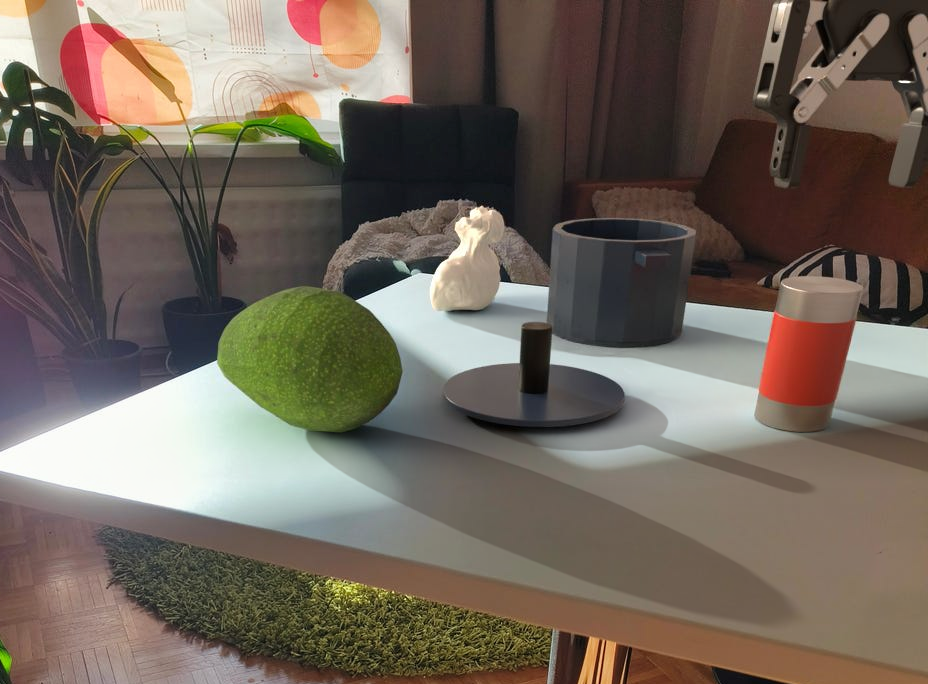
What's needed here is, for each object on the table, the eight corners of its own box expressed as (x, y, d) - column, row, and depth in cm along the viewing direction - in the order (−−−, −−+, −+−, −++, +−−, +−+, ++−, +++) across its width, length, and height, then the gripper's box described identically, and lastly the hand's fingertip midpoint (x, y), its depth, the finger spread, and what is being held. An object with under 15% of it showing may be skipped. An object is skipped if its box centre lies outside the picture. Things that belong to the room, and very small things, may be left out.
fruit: (194, 420, 69) (172, 283, 63) (287, 387, 75) (275, 261, 70) (339, 466, 61) (329, 316, 55) (428, 426, 68) (427, 287, 62)
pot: (644, 304, 100) (655, 212, 95) (714, 351, 85) (732, 245, 80) (526, 309, 98) (531, 215, 93) (576, 358, 83) (585, 249, 78)
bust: (445, 341, 95) (507, 258, 88) (395, 289, 95) (453, 201, 88) (491, 316, 104) (552, 239, 97) (446, 269, 104) (503, 188, 97)
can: (806, 405, 72) (837, 274, 67) (844, 430, 67) (880, 291, 62) (740, 409, 71) (766, 277, 66) (774, 434, 67) (804, 294, 61)
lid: (591, 371, 79) (598, 300, 76) (650, 429, 67) (661, 347, 64) (429, 379, 77) (429, 306, 74) (460, 440, 65) (461, 356, 62)
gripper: (836, -143, 47) (772, 196, 56) (1072, -132, 49) (974, 193, 58) (770, -121, 53) (721, 181, 62) (982, -112, 56) (906, 179, 64)
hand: (844, 186), depth 60 cm, fingers open, 8 cm apart
